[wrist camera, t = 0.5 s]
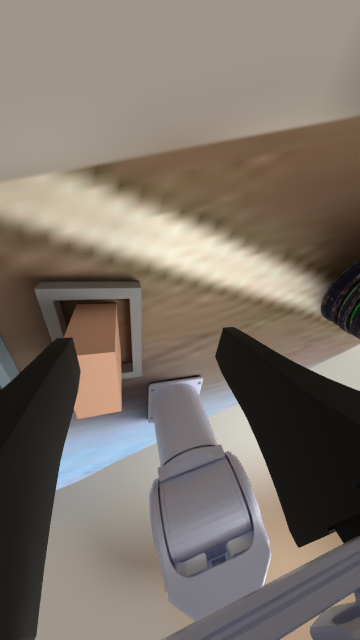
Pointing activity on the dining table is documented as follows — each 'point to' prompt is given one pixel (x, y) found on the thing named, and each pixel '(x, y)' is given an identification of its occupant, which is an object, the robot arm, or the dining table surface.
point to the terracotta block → (97, 359)
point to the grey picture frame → (6, 366)
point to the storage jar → (344, 301)
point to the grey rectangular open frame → (57, 291)
